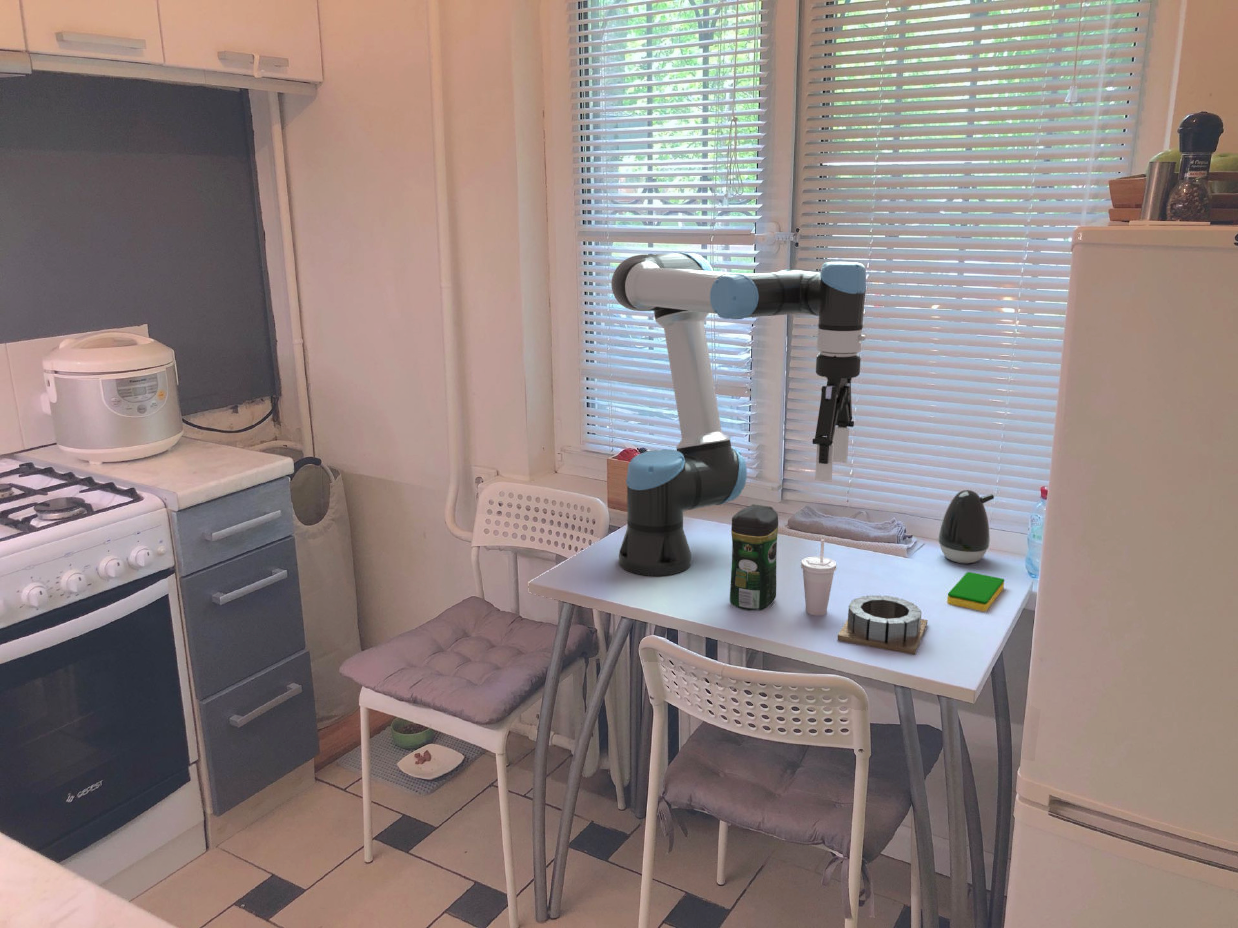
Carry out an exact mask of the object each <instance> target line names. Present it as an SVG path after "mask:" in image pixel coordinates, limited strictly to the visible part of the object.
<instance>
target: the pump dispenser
mask: <svg viewBox="0 0 1238 928" xmlns="http://www.w3.org/2000/svg"><path fill="white" fill-rule="evenodd" d="M994 499H995V496H994V494H992V493H991V494H987V495H984V496H981V497H980V495H979V494H978V493H977V492H975V491H973V490H971V489H965V490H961V491H959V492H958V493H956V494H955V495H954V497H953V498H952V499H951V501H950V503H949V504H948V507H947V508H946V511H945V513H944V515H943V518H942V521H941V524H940V528H939V531H938V532H939V533H938V538H937V539H938V540H937V541H938V544H939V547H940V551H941V552H942V554H943V555H944V557H946V558H947V559H949V560H950V561H952V562H954V563H958V564H973V563H976V562H978V561H980V560H981V559H983V558H984V556H985V554H986V553H987V550H988V548H990V541H991V539H990V538H991V537H990V536H991V534H990V533H991V531H990V524H989V519H988V514H987V511H986V507H985V503H987V502H990V501H991V500H994Z"/></svg>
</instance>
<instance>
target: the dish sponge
mask: <svg viewBox="0 0 1238 928" xmlns="http://www.w3.org/2000/svg"><path fill="white" fill-rule="evenodd" d="M1004 586H1005V579H1004V578H1001V577H996V576H992V575H987V574H981V573H976V572H971V571H967V572H965V574H964V575H963V576H962V577H961V579H960V580H959V581H957V583H956V584H955V585H954V586H953V587H952V588H951V589H950V590H949V591H948V593H947V600H946V602H947V604H949V605H952V606H957V607H962V608H966V609H971V610H976V611H980V612H987V610H988V609H989V608H990V607H991V605H992V604H993V603H994V601H995V600H996V599H997V598H998V596H999V595H1000V594H1001V592H1002V591H1003V590H1004Z"/></svg>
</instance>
